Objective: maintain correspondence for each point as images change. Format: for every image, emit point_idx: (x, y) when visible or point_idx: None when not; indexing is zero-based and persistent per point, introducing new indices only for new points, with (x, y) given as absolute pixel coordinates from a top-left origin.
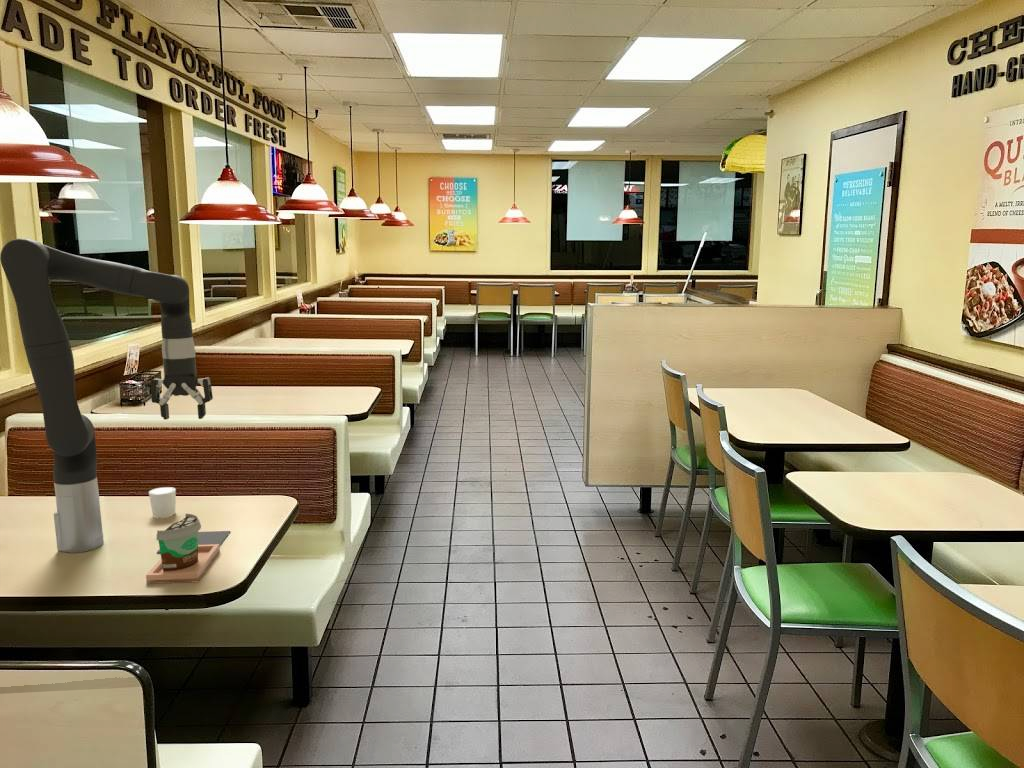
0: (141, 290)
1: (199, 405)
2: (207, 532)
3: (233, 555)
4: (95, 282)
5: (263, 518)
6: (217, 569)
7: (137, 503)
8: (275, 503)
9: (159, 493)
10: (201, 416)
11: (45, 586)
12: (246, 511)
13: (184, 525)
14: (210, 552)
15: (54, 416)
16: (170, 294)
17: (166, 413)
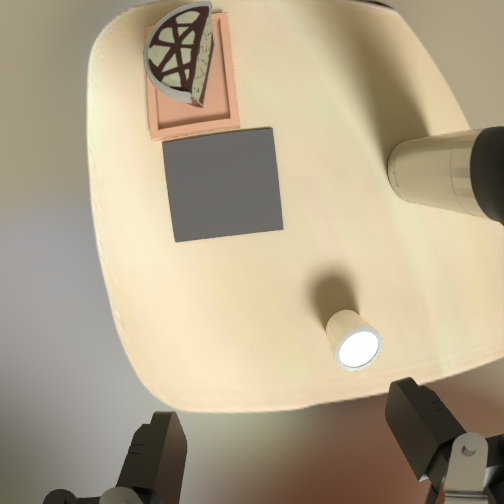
0: None
1: (136, 482)
2: (217, 231)
3: (127, 129)
4: None
5: (147, 312)
6: (134, 74)
7: (399, 365)
8: (163, 381)
9: (358, 332)
10: (155, 424)
11: (373, 26)
12: (195, 347)
13: (171, 47)
14: (152, 99)
15: None
16: None
17: (407, 411)
